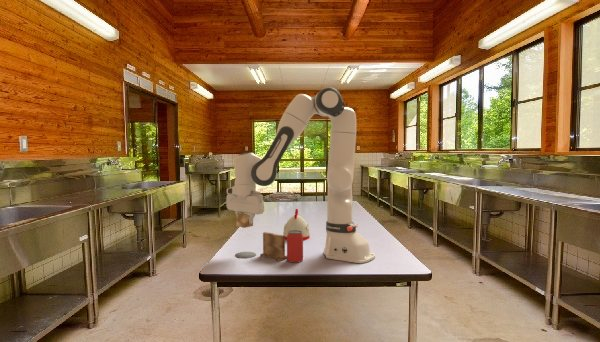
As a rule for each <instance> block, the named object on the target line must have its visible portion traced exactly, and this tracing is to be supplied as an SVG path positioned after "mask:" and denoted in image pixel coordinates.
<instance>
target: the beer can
mask: <svg viewBox="0 0 600 342" xmlns="http://www.w3.org/2000/svg"><path fill="white" fill-rule="evenodd" d="M286 256H287V259H286V261H288V262H290V263H294V264H295V263H301V262H302V261H303V260H304V240H303V235H302V231H299V230H291V231H289V232H288V235H287V240H286Z"/></svg>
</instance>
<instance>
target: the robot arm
mask: <svg viewBox="0 0 600 342" xmlns="http://www.w3.org/2000/svg"><path fill="white" fill-rule="evenodd" d="M288 104H289V105H287V107H286V109H284V112H283V114H282V116H281V118H280V120H279V122H278V125H277V130H276V134H275V136H274V138H273V141H272V143H271V144H270V146H269V148H268V149H267V152H266V153H265V155H264V156H263V157H260V156H258V155H256V154H255V153H254V152H250V151H249V152H243V153H240V154H238V155H237V156H236V157H235V161H234V178H235V180H234V185H233V186H230V187H228V188H226V194H227V195H226V204H225V205H226V208H227V210H229V211H234V214H235V216H236V217H237V214H242V213H248V214H249V216H250V218H249V219H248V223H250V224H251V223H253V224H254V218H255V216H256V215H263V214H264V213H265V202H264V195H263V194H262V193H261V192H260V191H256V185H258V186H260V187H268V186H271V184H273V183H274V181H275V180H276V178H277V174H278V166H279V163H280V162H281V160H282V158H283V156H284V154H285V153H286V151H287V149H288V147H289V146H290V145H291V144H293V142H294V141H296V140H297V139H298V138H299V137H300V136H301V135H302V133H303V132H304V130H305V128H306V127H307V125H308V124H309V122H310V120H311V119H312V118H313V116H316V117H320V118H327V117H328V118H329V120H330V124H331V126H330V139H329V152H328V162H327V171H326V172H327V173H326V183H327V200H326V203H327V204H326V205H327V206H326V207H327V208H326V222H325V230H326V236H325V237H326V239H325V243H324V248H323V252H322V253H323V255H325V258H326V259H329V260H336V261H342V262H349V263H356V264H365V263H367V262H371V261H373V259H375V258H376V254H375V253H374V252H371V250H370V248H371V247H370V244H369V241H368V240H367V239H365V238H364V236H362V235H361V234H360V233H359V232H357V228H359V227H358V226H359V225H358V224H355V223H354V222H353V211H354V210H353V207H354V205H353V203H354V202H353V182H354V175H355V174H354V173H355V159H356V158H355V156H356V144H357V141H356V140H357V125H358V124H357V114H356V111H354V109H353V108H351V107H347V106H346V103H345V102H344V100H343V97H342V95H341V94H340V91H339V90H337V89H336V88H334V87H323V88H322V89H320V90H319V91H318V92H317V94H316V95H315V96H310V95H307V94H304V93H299V94H297V95H295V97H294V98H293V99H292V100H291V101H290V103H288ZM370 260H371V261H370Z"/></svg>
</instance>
